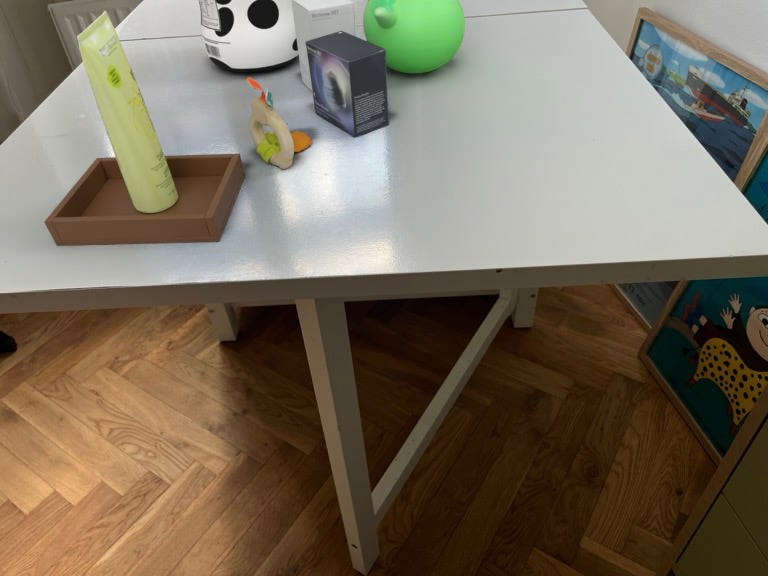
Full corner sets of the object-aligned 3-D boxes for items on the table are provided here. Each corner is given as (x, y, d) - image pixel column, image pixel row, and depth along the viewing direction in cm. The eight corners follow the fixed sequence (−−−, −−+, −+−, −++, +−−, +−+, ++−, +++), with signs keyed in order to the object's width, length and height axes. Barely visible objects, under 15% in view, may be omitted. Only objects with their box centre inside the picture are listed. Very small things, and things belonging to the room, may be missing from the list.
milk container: (315, 45, 104) (302, -67, 92) (295, 80, 92) (277, -44, 80) (226, 46, 106) (202, -64, 94) (195, 80, 93) (162, -41, 81)
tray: (56, 245, 59) (43, 221, 57) (106, 180, 69) (96, 157, 67) (219, 241, 58) (212, 217, 56) (245, 175, 69) (240, 153, 66)
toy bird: (480, 78, 89) (487, -24, 79) (381, 96, 85) (376, -9, 75) (434, 45, 102) (436, -47, 92) (347, 59, 98) (339, -35, 88)
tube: (189, 203, 63) (131, 21, 50) (148, 222, 61) (75, 35, 48) (166, 186, 66) (106, 10, 53) (126, 203, 64) (52, 22, 51)
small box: (311, 114, 81) (301, 39, 74) (348, 102, 84) (342, 29, 77) (353, 139, 75) (346, 60, 68) (391, 124, 78) (388, 47, 71)
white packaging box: (317, 98, 86) (306, 9, 77) (301, 82, 91) (289, -2, 82) (360, 88, 88) (354, 1, 80) (343, 73, 93) (335, -10, 85)
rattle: (333, 160, 71) (322, 69, 63) (274, 179, 68) (255, 87, 60) (307, 138, 75) (294, 52, 68) (251, 156, 72) (231, 67, 65)
